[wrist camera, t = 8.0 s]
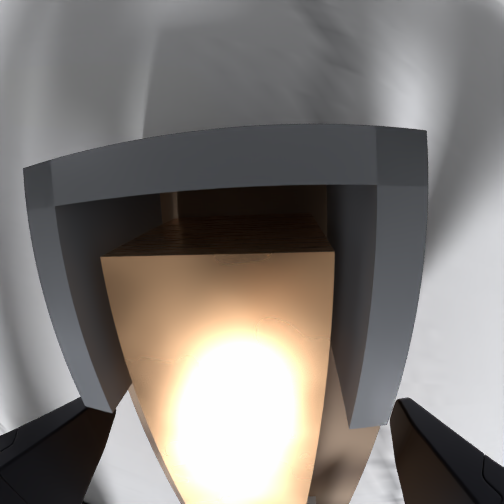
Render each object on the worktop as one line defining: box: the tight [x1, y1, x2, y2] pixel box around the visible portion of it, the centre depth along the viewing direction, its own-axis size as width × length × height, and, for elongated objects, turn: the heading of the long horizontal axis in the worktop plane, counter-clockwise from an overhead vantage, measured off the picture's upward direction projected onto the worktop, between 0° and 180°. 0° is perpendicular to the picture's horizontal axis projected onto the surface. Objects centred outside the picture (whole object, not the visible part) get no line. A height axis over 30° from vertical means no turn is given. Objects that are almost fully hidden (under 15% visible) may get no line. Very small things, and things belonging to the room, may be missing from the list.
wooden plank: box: [100, 213, 335, 504], centre depth 9 cm, size 19×4×4 cm, turn 3°
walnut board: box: [128, 185, 380, 504], centre depth 12 cm, size 28×11×1 cm, turn 3°
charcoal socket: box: [23, 124, 428, 429], centre depth 7 cm, size 5×7×5 cm
